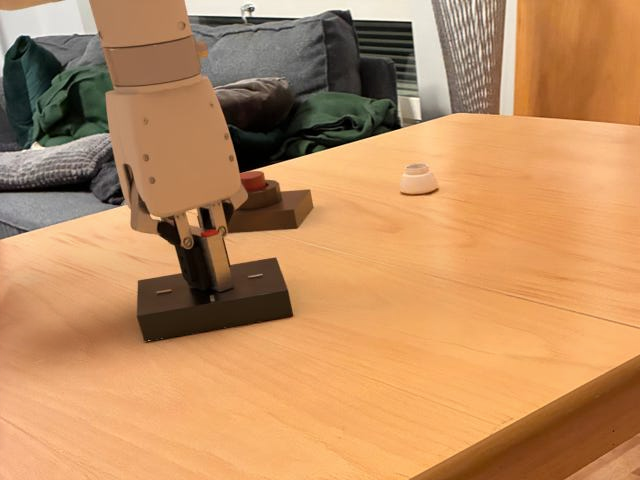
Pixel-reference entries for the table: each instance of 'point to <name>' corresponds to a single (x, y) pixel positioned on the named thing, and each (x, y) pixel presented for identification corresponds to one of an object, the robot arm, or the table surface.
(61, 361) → the table surface
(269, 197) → the button block
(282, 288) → the lever switch base
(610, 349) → the table surface
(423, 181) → the white jar
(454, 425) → the table surface
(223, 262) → the grey switch lever
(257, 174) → the button
